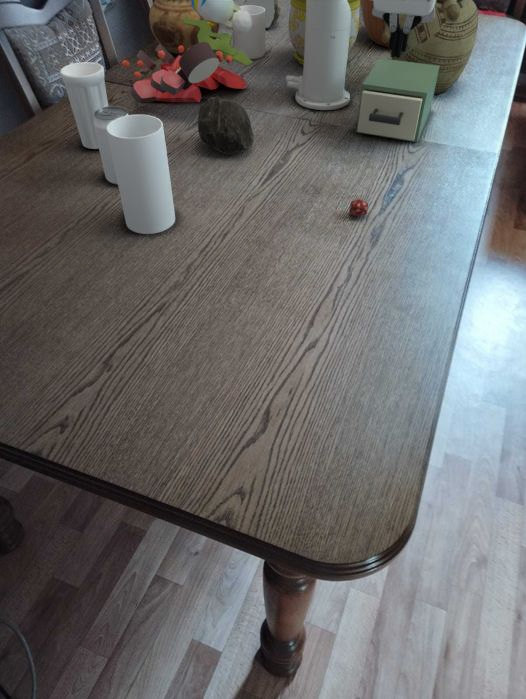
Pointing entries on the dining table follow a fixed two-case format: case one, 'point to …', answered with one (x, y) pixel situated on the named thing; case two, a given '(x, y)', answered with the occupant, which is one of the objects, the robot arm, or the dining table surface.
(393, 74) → the cabinet
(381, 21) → the bowl
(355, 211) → the die
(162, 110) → the dining table surface
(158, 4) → the clay pot
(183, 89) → the sushi set
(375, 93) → the drawer
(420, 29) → the ceramic vessel
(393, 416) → the dining table surface
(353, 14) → the flowerpot
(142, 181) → the cup
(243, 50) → the mug
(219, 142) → the rock
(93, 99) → the cup
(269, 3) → the sculpture
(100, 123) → the can
